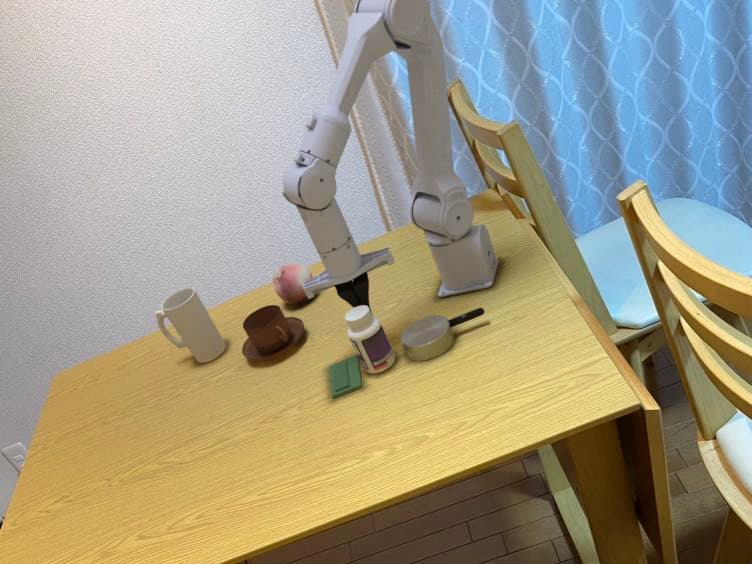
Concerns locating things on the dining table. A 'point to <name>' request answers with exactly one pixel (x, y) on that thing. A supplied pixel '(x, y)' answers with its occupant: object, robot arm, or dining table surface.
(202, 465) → the dining table surface
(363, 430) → the dining table surface
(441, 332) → the pan
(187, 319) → the mug
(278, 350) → the cup and saucer
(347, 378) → the green light switch
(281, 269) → the onion
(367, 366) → the pill bottle
